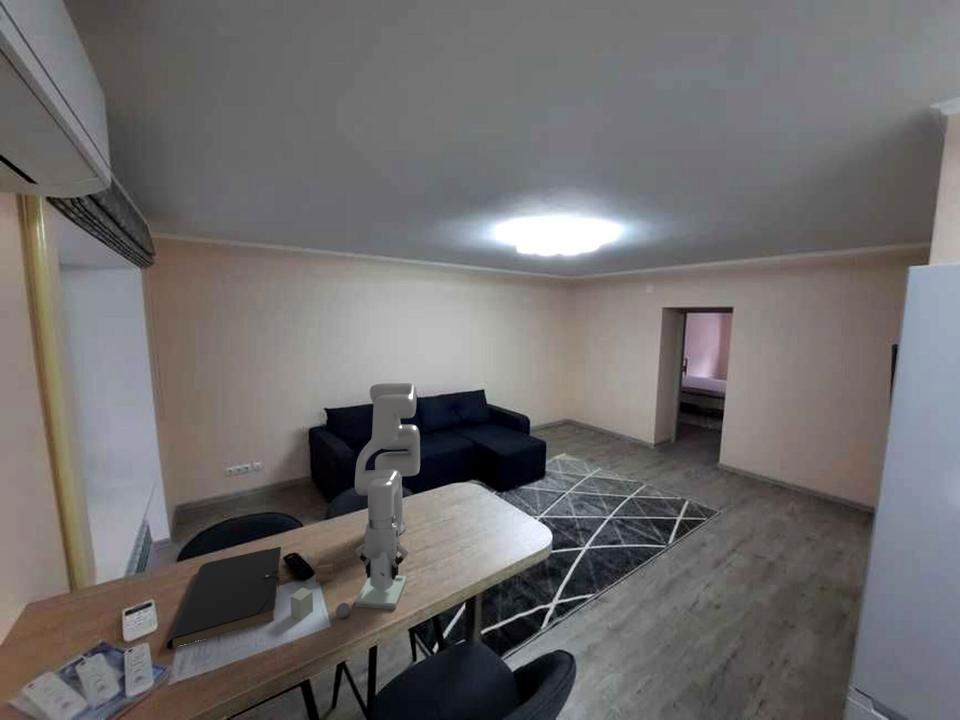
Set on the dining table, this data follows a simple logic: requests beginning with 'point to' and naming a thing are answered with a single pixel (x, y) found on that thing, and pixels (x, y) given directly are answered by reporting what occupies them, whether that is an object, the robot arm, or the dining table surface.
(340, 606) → the grey ball
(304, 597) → the sage block
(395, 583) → the tray
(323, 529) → the dining table surface
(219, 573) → the file folder
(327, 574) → the walnut cube
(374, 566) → the skincare box
